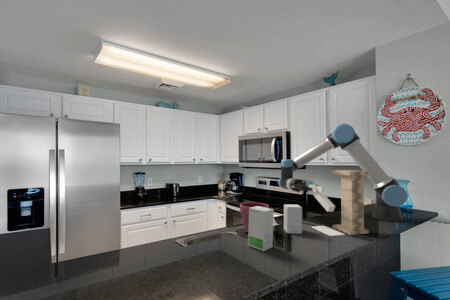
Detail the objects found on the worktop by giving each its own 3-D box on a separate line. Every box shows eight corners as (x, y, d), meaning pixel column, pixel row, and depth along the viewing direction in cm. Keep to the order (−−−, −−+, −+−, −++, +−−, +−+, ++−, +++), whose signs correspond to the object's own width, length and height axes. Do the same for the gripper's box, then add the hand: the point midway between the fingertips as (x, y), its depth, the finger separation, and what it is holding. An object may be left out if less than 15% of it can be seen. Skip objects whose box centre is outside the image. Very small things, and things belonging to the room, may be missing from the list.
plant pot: (265, 226, 126) (265, 202, 127) (271, 235, 112) (271, 207, 113) (238, 226, 126) (238, 201, 127) (240, 234, 112) (241, 207, 113)
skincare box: (247, 246, 98) (247, 207, 98) (256, 242, 103) (257, 205, 103) (264, 251, 92) (264, 210, 93) (273, 247, 97) (274, 208, 98)
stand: (349, 226, 128) (349, 170, 129) (368, 233, 116) (368, 171, 117) (332, 227, 125) (332, 170, 126) (350, 235, 113) (349, 171, 114)
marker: (310, 185, 135) (312, 181, 134) (333, 211, 117) (335, 206, 116) (305, 185, 134) (307, 181, 133) (327, 211, 116) (329, 206, 115)
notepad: (323, 226, 128) (323, 225, 128) (345, 235, 113) (345, 234, 113) (310, 227, 125) (310, 226, 125) (331, 236, 111) (331, 235, 111)
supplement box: (302, 233, 115) (302, 207, 115) (286, 233, 115) (286, 207, 115) (298, 229, 122) (298, 204, 123) (283, 229, 122) (283, 204, 123)
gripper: (306, 190, 149) (333, 196, 127) (283, 191, 145) (306, 197, 122) (306, 178, 150) (332, 182, 127) (283, 179, 145) (306, 183, 123)
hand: (319, 189), depth 125 cm, fingers closed on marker, 3 cm apart
